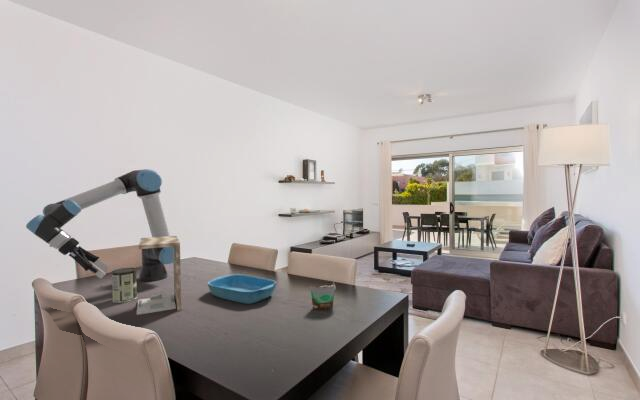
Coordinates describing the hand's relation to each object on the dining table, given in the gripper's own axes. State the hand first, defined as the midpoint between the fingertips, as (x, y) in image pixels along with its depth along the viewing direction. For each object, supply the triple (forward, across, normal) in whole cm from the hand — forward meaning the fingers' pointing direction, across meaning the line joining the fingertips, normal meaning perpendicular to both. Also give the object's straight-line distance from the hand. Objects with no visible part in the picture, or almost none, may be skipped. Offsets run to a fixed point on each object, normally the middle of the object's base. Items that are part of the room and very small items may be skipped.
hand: (105, 272), depth 152 cm
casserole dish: (+52, +20, +32) cm, 64 cm away
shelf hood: (+26, +16, +6) cm, 31 cm away
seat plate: (+24, +16, +5) cm, 30 cm away
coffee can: (+15, 0, -5) cm, 16 cm away
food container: (+71, +56, +52) cm, 104 cm away
